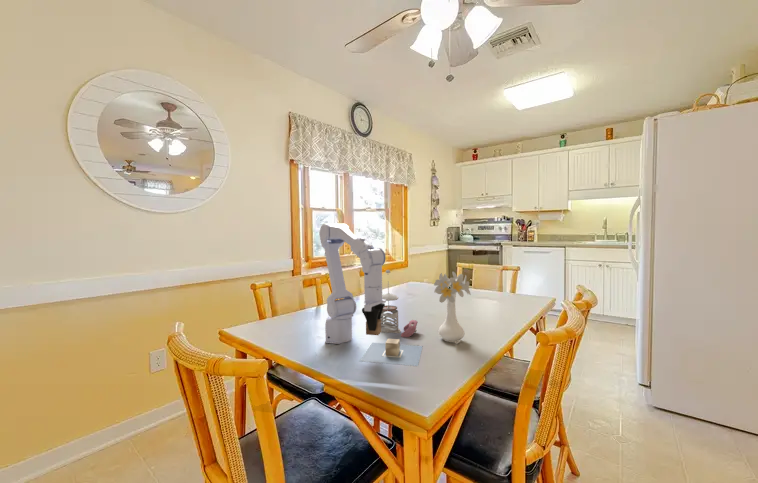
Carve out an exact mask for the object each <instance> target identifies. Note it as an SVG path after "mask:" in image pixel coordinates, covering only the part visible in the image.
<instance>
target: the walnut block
mask: <svg viewBox="0 0 758 483" xmlns="http://www.w3.org/2000/svg"><path fill="white" fill-rule="evenodd" d="M380 333H382V332H381V319H377V326H376V330H375V331H369V329H368V325H367V321H366V322H365V335H369V336H379V335H380Z"/></svg>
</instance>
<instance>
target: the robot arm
mask: <svg viewBox="0 0 758 483" xmlns="http://www.w3.org/2000/svg"><path fill="white" fill-rule="evenodd" d="M350 229H351V228H350V226H349V225H348V224H346V223H325V222H324V223H322V224H321V226H320V229H319V238H320V239H319V240H320V244H321V247H322V248H323V249H324V255H325V259H326V264H327V270H328V276H329V281H330V287H331V293H330V294H329V295H328V296H327V298H326V311H327V314H328V316H327V318H326V320H325V327H324V329H325V330H324V331H325V332H324V333H325V341H324V344H334V345H341V344H342V343H346V342H350V341H352V340H353V323H352V322H353V320H352V319H353V317H354V314H355V313H356V311H357V302H356V300H355V299H354V298H355V297H354V295H353V294H354V293H352V292H351V291H350V290H348V289H347V287H346V282H345V278H344V272H343V269H342V268H343V266H342V262H341V258H340V256H341V255H340V253H339V252H340V251H339V249H340V248H341V247H343V246H344V244H345V243H346V244H347V245H349V246H350V251H351V252H352V253H353V254H354V255H356V256H357V257H358V258H359V261H360V264H361V267H362V269H361V270H362V272H363V273H364V274H363V275H364V276H363V278H364V279H363V280H364V281H363V282H364V283H363V284H364V299H363V304H364V305H363V307H362V309H361V312H362V314H363V316H364V318H365V320H366V321H367V325H368V329H369V331H375V330H376V326H377V319H381V314H382V311H383V308H384V306H386V304H385V303H386V302H387V301H386V300H385V299H382V295H383V266H384V264H386V259H387V258H386V253H385V251H384V250H383V248H381V247H374V246H373V244H370V243H369V242H368V241H367V240H366V238H365V237H357V236H356V235H355V234H354V233H353V232H352V231H351V230H350Z"/></svg>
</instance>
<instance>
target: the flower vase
mask: <svg viewBox="0 0 758 483" xmlns="http://www.w3.org/2000/svg"><path fill="white" fill-rule="evenodd" d="M452 276H453V277H450V278H449V277H448V275H447V274H446V273H444V274H443V273H442V272H441V273H440V274H439V279H435V282H434V283H433V286H435V289H434V293H435V294H437V295H440V296H439V303H442V304H443V303H445V301H446V315H445V320H443V321H444V322H442V324H441V325H440V326H439V327H438V330H437V332H438V335H439V337H440V338H441V339H442V340H443V341H445V342H447V343H455V345H459V344H460V343H461V340H462V339H463V338H464V337H465V329H464V327H463V326H462V325H461V324H460V323H459V321H458V319H457V313H456V297H457V294H458V296H459V297H461V298H463V297H464V292H463V291H465V293H466V294H467V295H470V296H471V295H472V294H471V291H470V281H469V280H468V281H467V275H466V274H465V275H464V274H462V273H460V274H458V275H457V274H456V272H455V271H452ZM464 276H465V277H464Z"/></svg>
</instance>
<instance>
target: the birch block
mask: <svg viewBox="0 0 758 483" xmlns="http://www.w3.org/2000/svg"><path fill="white" fill-rule="evenodd" d="M400 345H401V339H400V338H398V339H397V338H387V339H386V341H385V350H386V355H390V356H398V355H399V352H400Z"/></svg>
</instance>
